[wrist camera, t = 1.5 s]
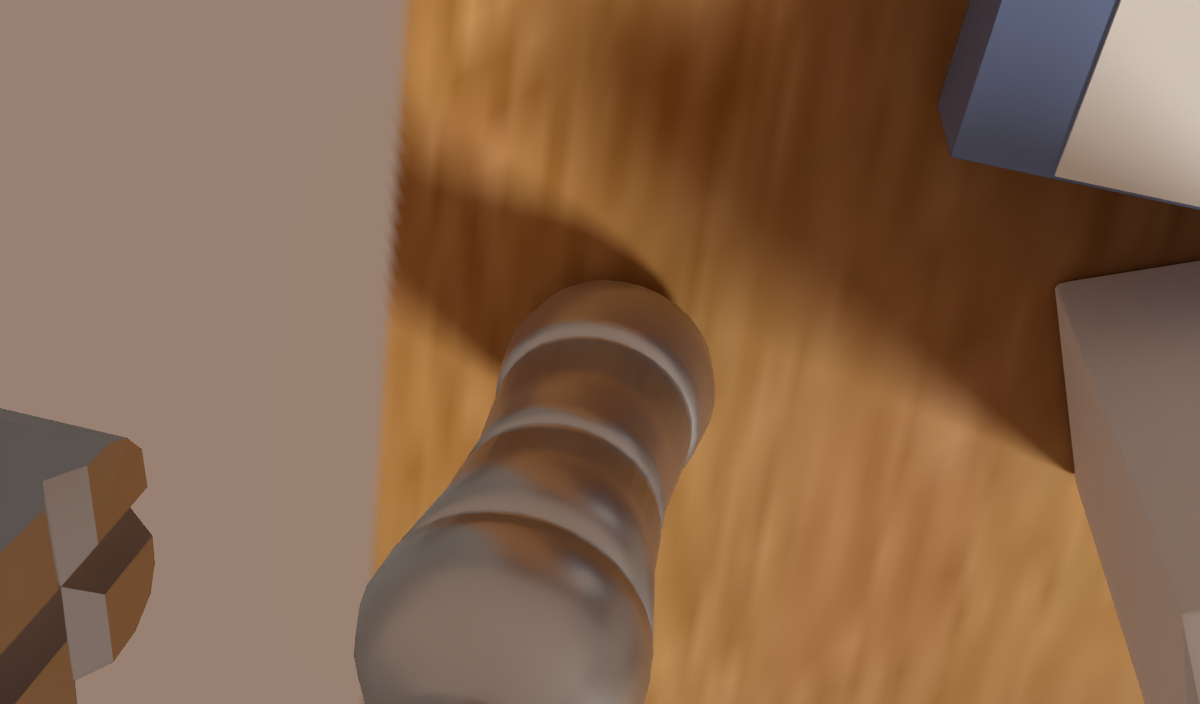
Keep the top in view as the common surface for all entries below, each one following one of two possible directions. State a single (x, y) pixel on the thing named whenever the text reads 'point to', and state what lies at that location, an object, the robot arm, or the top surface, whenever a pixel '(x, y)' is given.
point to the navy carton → (1081, 93)
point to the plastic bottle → (548, 517)
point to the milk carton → (1141, 458)
